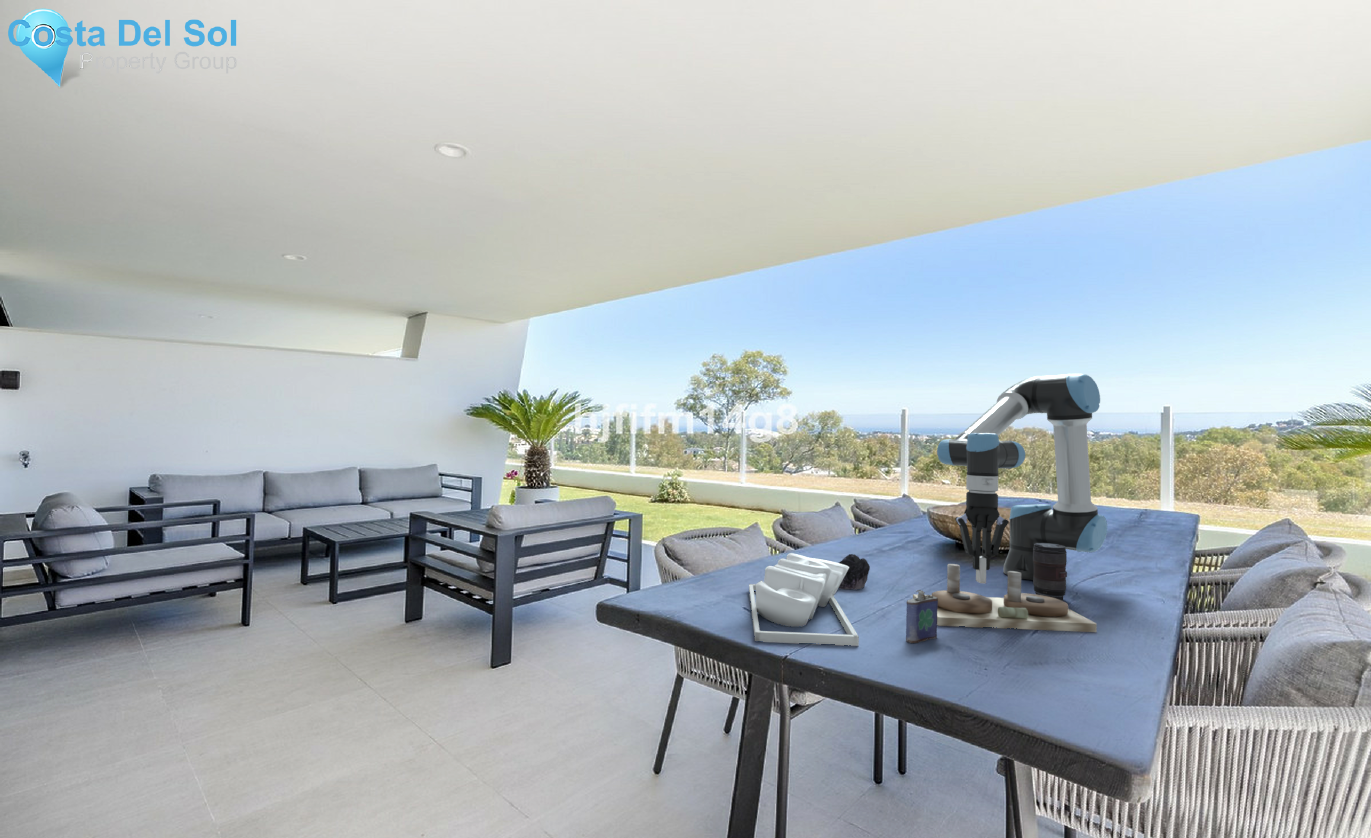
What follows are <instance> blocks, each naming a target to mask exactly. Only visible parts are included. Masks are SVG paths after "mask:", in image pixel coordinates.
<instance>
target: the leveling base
mask: <svg viewBox="0 0 1371 838" xmlns="http://www.w3.org/2000/svg"><path fill="white" fill-rule="evenodd" d="M917 595H918V594H916V593H915V594H912V599H914V598H918V596H917ZM930 595H931V596H932V594H930ZM986 597H987V598H989V599H991V600H992V610H991V611H990V612H987V613H963V612H956V611H951V610H947V609H943V608H940V607H938V610H937V627H939V626H941V627H959V626H965V627H964V628H966V627H967V628H983V627H992V628H991V629H1007V628H1010V629H1011V628H1014V629H1013V630H1031V631H1032V630H1035V631H1055V632H1056V631H1057V632H1058V631H1059V632H1060V631H1061V632H1082V633H1097V629H1098V627H1097V624H1098V623H1097V622H1094V621H1093V620H1091V619H1089V618H1087V617H1085V616H1083V615H1081V614H1079V613H1077V612H1075V611H1074V610H1072V609H1070V608H1068V614H1067V615H1064V616H1039V615H1032V614H1028V610H1027V609H1026V608H1013V607H1006V606H1005V605H1004V597H990V596H986ZM993 627H994V628H993ZM996 627H997V628H996ZM1016 628H1017V629H1016ZM1011 630H1012V629H1011Z"/></svg>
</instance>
